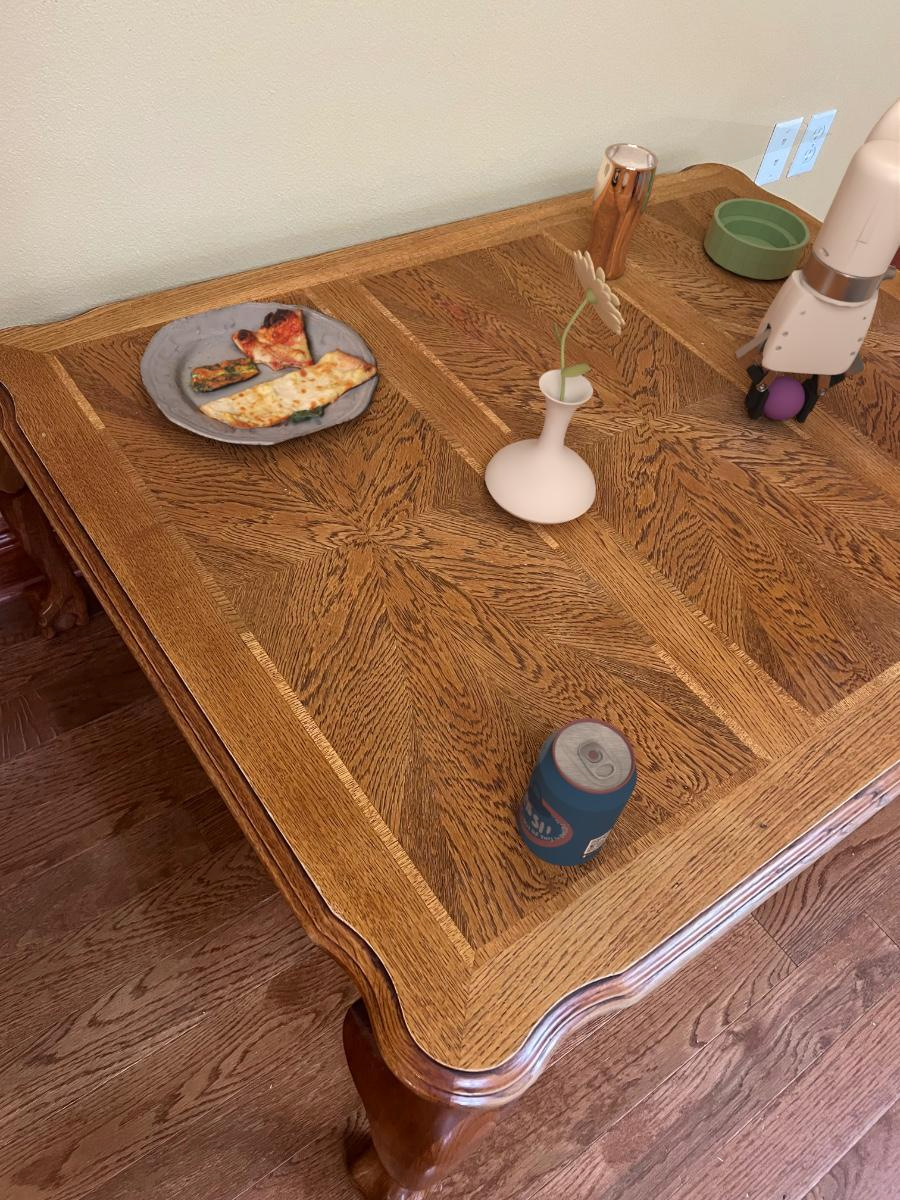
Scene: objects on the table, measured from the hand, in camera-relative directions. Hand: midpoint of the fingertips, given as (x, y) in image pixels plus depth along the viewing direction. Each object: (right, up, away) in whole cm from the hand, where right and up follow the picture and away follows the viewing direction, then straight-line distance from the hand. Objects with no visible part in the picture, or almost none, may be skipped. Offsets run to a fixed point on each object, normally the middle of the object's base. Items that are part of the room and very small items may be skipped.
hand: (774, 412), depth 109 cm
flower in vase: (-29, -10, -11) cm, 32 cm away
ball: (0, +1, -2) cm, 2 cm away
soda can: (-29, -40, -35) cm, 61 cm away
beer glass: (-17, +23, +17) cm, 33 cm away
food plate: (-58, +2, -6) cm, 58 cm away
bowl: (+4, +26, +23) cm, 35 cm away
